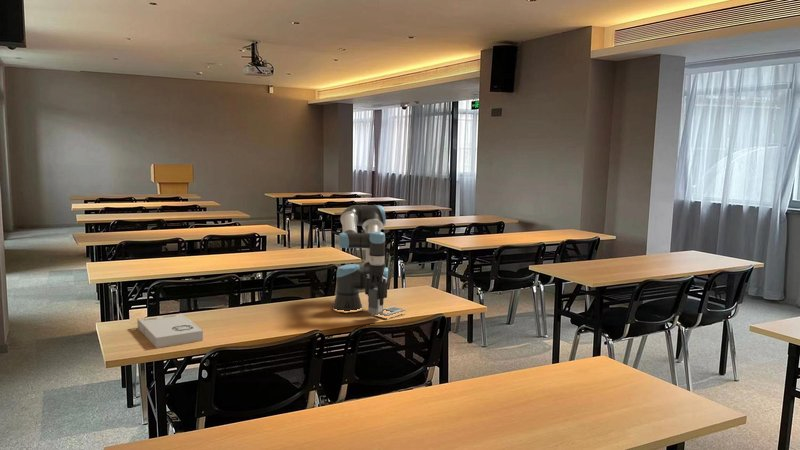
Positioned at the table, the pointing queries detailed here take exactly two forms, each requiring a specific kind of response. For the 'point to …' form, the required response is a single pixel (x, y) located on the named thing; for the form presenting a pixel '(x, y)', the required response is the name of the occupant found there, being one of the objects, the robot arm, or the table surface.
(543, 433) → the table surface
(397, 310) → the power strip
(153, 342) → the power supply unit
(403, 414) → the table surface
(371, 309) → the charger
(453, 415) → the table surface
